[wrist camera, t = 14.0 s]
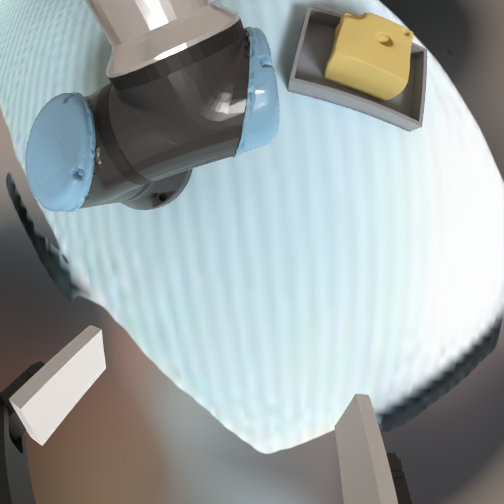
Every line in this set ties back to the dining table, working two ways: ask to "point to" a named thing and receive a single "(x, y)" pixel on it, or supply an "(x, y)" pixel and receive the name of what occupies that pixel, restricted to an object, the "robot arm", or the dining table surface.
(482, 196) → the dining table surface
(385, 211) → the dining table surface
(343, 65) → the cheese
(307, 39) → the bin
